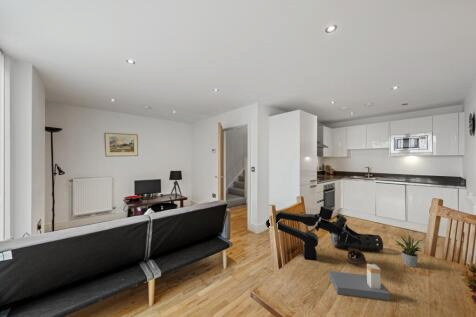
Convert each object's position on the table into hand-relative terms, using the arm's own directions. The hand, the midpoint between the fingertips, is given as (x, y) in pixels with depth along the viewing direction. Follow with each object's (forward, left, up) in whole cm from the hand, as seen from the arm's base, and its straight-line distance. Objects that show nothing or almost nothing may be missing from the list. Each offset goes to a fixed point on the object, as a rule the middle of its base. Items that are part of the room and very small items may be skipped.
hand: (360, 238), depth 100 cm
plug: (-3, -19, -16) cm, 25 cm away
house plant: (+30, +10, -17) cm, 36 cm away
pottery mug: (+1, +7, -17) cm, 18 cm away
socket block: (-9, -17, -16) cm, 25 cm away
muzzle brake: (+7, +24, -17) cm, 30 cm away
